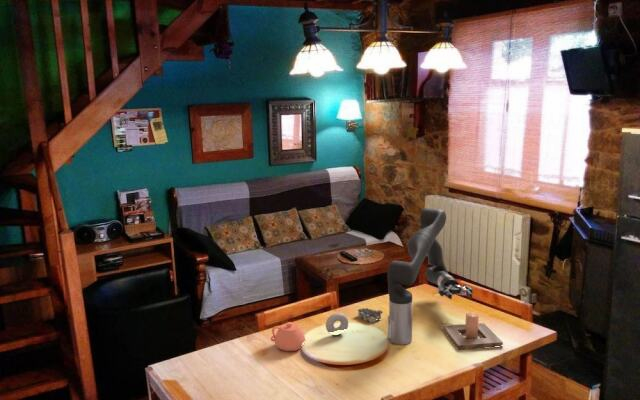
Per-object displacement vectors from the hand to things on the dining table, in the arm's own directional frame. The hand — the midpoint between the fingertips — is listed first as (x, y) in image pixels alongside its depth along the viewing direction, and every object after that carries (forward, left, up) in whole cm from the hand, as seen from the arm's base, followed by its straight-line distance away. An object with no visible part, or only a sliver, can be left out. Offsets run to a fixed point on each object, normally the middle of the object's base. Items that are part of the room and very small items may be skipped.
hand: (460, 296), depth 223 cm
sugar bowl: (-74, -8, -14) cm, 76 cm away
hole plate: (+1, -12, -13) cm, 18 cm away
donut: (-53, -1, -14) cm, 55 cm away
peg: (0, -12, -14) cm, 18 cm away
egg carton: (-37, +14, -14) cm, 42 cm away
